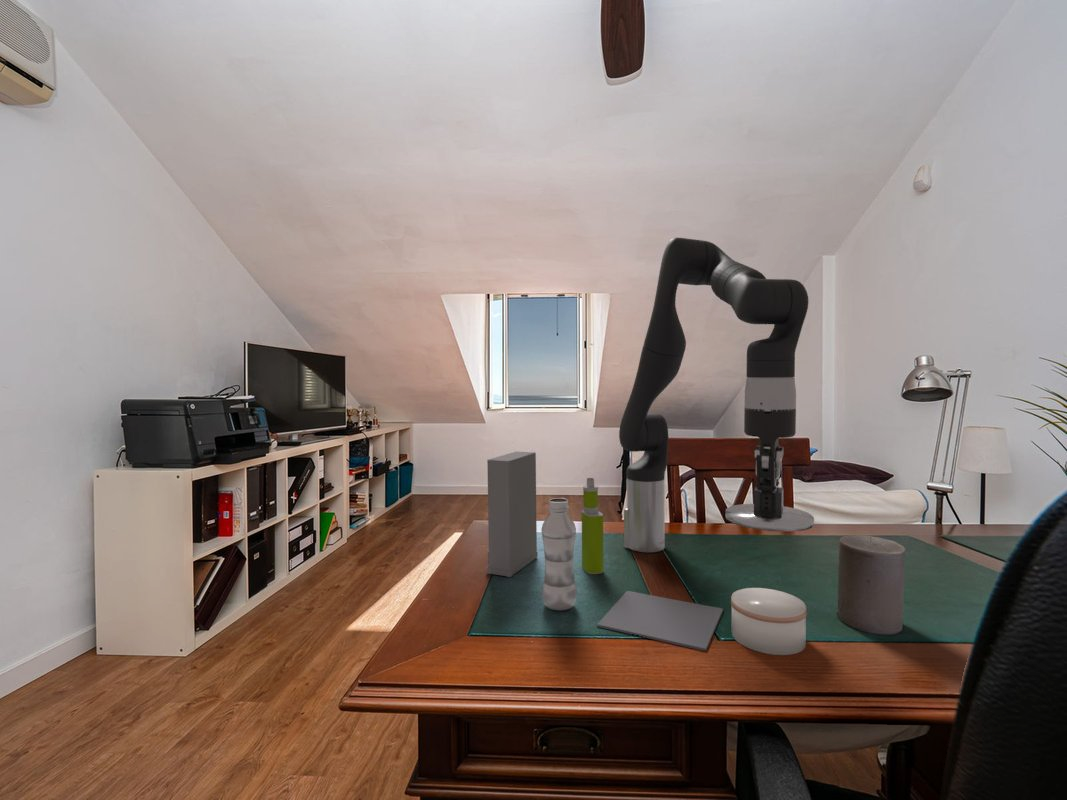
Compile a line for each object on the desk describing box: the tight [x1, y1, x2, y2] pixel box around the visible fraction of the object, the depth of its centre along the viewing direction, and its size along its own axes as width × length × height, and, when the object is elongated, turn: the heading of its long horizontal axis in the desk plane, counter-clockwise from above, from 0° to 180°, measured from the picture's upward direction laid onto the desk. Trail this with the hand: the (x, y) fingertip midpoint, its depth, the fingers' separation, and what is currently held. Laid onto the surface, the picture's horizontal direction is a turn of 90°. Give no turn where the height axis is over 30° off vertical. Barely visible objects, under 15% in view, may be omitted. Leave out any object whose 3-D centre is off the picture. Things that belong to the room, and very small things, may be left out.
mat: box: [596, 590, 724, 652], centre depth 94 cm, size 18×16×1 cm
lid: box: [725, 486, 815, 533], centre depth 86 cm, size 13×13×5 cm
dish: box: [730, 587, 808, 656], centre depth 87 cm, size 11×11×6 cm
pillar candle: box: [836, 534, 906, 635], centre depth 92 cm, size 10×10×15 cm
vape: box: [581, 477, 604, 575], centre depth 118 cm, size 4×6×20 cm, turn 14°
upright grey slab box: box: [485, 450, 539, 578], centre depth 121 cm, size 14×6×25 cm, turn 155°
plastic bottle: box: [541, 497, 578, 611], centre depth 99 cm, size 6×7×20 cm
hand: (768, 512), depth 86 cm, fingers closed on lid, 4 cm apart
